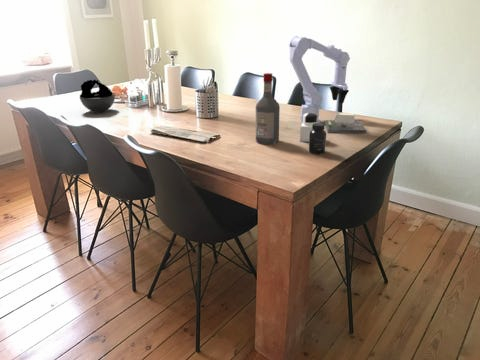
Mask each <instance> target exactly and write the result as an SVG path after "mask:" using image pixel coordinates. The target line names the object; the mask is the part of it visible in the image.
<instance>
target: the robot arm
mask: <svg viewBox="0 0 480 360" xmlns="http://www.w3.org/2000/svg"><path fill="white" fill-rule="evenodd" d="M288 47H289V61H290V63H291V66H292V68H293V70H294V72H295V74H296V76H297V78H298V81H299V82H300V85H301V87H302V89H303V90H302V94H303V100H304V102H305V104H301V108H300V109H301V110H300V123H301V124H302V123H303V115H304V114H306V113H314V114H316V115H317V122H316V123H321V122H320V118H319V116H320V106H321V104H322V102H323V96H322V94H320V92H318V89H317V88H316V87H315V86H314V83H313V82H312V79H311V77H310V75H309V73H308V70H307V68H306V66H305V64H304V62H303V57H304V55H305V54H306V53H307V52H308V50H311V49H313V50H316V51H319V52H320V53H322V54H323V56H324V57H325V58H328V59H330V60H333V61H334V62H335V66H334V67H335V68H334V77H333V78H334V80H333V81H331V86H329V90H330V92H331V96H332V101H337V100H338V103H339V104H344V103H345V99H346V97H347V94H348V93H349V89H348V84H347V83H346V79H347V78H346V77H347V66H348V64H349V62H350V59H351V57H350V55H349V53H348V52H347V51H342V49H341V48H338V47H337V48H336V47H335V45H333V44H331V45H330V44H329V45H324V44H322V43H320V42H319V41H316V40H314V39H312V38H308V37H305V36H294V37H292V38H291V39H290V42H289V44H288Z"/></svg>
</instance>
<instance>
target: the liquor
mask: <svg viewBox="0 0 480 360" xmlns="http://www.w3.org/2000/svg"><path fill="white" fill-rule="evenodd" d="M262 95H263V96H262V97H261V99H259V101H257V103H256V105H255V142H257V143H258V144H261V145H262V144H263V145H273V144H275V143H277V142H278V141H279V139H280V104H279V102H278V101H277V100H276V99H275V98H274V97H273V73H269V72H267V73H266V72H265V73H263V94H262Z"/></svg>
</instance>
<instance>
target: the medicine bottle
mask: <svg viewBox="0 0 480 360" xmlns="http://www.w3.org/2000/svg"><path fill="white" fill-rule="evenodd" d="M316 122H317V115H316V114H314V113H306V114H304V115H303V123H301V125H300V126H299V127H300V128H299V132H300V133H299V141H300V142H304V143H305V142H307V143H309V135H310V131H311V130H313V129H312V125H313V123H316Z"/></svg>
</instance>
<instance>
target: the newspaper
mask: <svg viewBox="0 0 480 360" xmlns="http://www.w3.org/2000/svg"><path fill="white" fill-rule="evenodd" d="M147 129H151V130H150V133H151V134H155V133H157V134H156V135H161V134H163V135H162V136H167V135H168V136H169V137H173V136H174V137H175V138H180V139H186V140H190V139H191V141H197V142H202V143H210V140H211V139H210V138H211V137H216V139H218V137H219V138H221V134H217V133H211V132H206V131H204V132H203V131H199V130H191V129H184V128H178V127H172V126H167V125H156V126H154V127H147Z"/></svg>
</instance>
